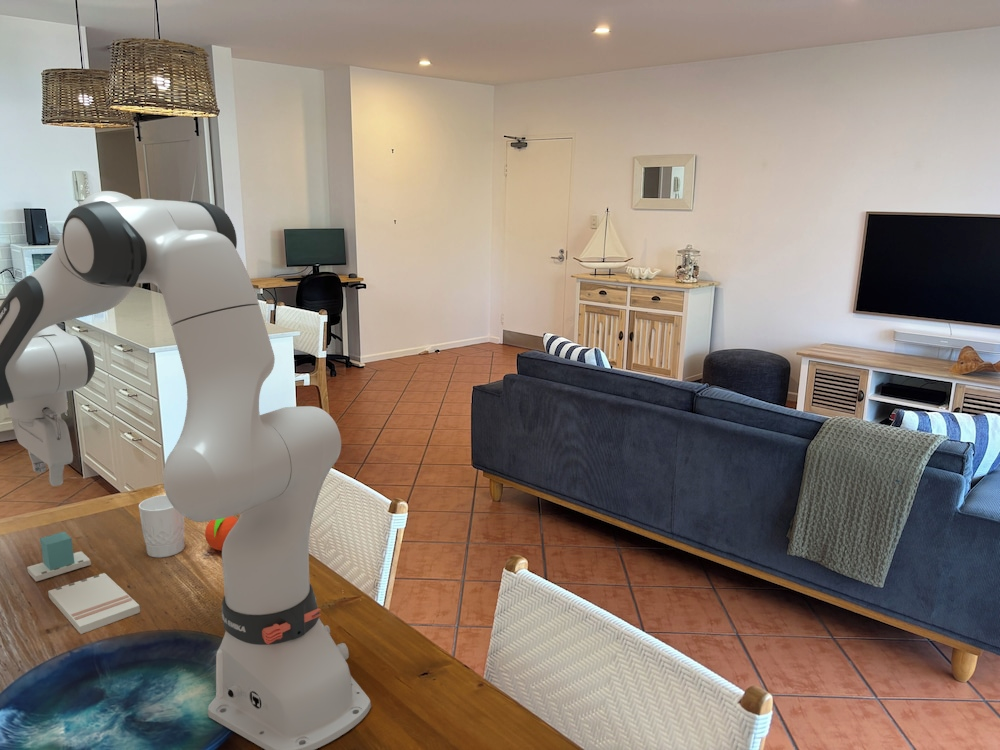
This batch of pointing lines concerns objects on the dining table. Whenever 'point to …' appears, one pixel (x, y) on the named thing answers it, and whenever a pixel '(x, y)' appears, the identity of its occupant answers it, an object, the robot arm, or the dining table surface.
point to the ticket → (93, 602)
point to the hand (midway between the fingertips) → (48, 478)
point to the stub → (57, 557)
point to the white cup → (161, 527)
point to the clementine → (219, 531)
